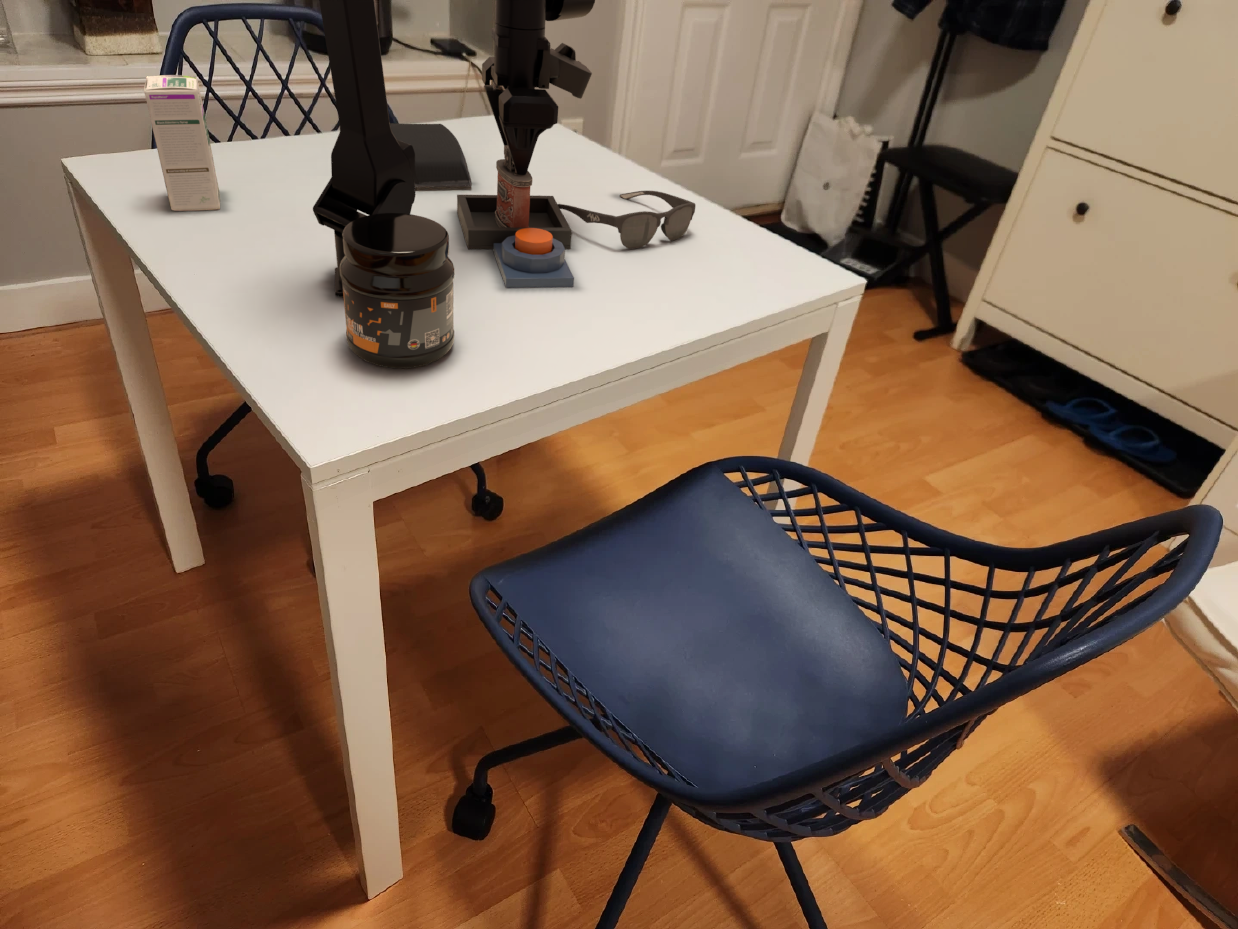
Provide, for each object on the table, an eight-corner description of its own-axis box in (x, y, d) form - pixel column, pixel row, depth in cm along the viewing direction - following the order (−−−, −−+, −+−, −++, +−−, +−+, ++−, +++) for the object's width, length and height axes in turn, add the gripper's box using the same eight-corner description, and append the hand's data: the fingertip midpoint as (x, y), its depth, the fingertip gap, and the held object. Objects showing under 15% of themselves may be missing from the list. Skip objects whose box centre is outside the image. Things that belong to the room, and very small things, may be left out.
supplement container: (331, 331, 87) (320, 217, 80) (429, 313, 92) (426, 204, 85) (369, 382, 80) (360, 262, 73) (472, 360, 86) (473, 246, 79)
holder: (570, 249, 110) (572, 230, 109) (468, 249, 107) (468, 230, 105) (552, 213, 119) (553, 195, 118) (457, 212, 116) (457, 194, 114)
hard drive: (383, 190, 119) (381, 161, 116) (366, 145, 133) (365, 118, 131) (477, 189, 123) (477, 160, 121) (451, 145, 137) (451, 119, 135)
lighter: (489, 215, 115) (491, 139, 109) (514, 214, 116) (516, 138, 110) (509, 239, 109) (512, 160, 103) (535, 238, 110) (539, 159, 104)
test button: (555, 256, 101) (556, 242, 100) (518, 256, 100) (518, 242, 99) (548, 241, 105) (548, 227, 104) (512, 241, 104) (512, 227, 103)
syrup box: (221, 209, 108) (200, 87, 99) (169, 211, 106) (142, 87, 97) (219, 193, 112) (199, 74, 103) (169, 194, 110) (144, 73, 101)
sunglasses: (614, 256, 109) (617, 217, 107) (537, 223, 120) (537, 186, 117) (705, 237, 119) (710, 201, 116) (626, 208, 129) (628, 173, 127)
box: (573, 287, 101) (575, 263, 100) (505, 288, 99) (506, 263, 97) (556, 251, 109) (558, 229, 107) (493, 252, 107) (493, 228, 105)
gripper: (608, 47, 93) (595, 189, 103) (571, 12, 107) (563, 139, 117) (506, 41, 90) (502, 188, 100) (482, 5, 104) (480, 137, 114)
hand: (515, 161), depth 108 cm, fingers open, 9 cm apart
